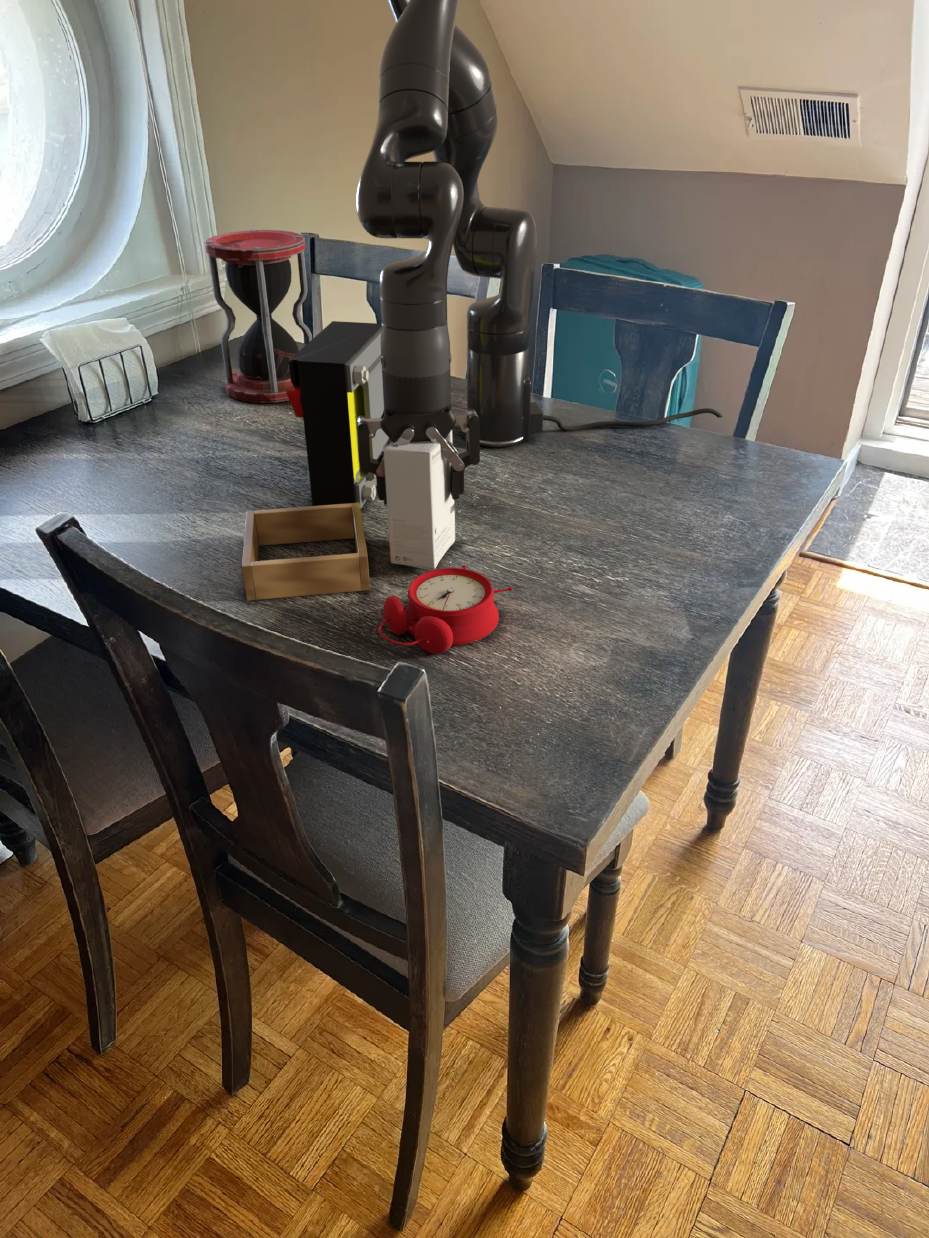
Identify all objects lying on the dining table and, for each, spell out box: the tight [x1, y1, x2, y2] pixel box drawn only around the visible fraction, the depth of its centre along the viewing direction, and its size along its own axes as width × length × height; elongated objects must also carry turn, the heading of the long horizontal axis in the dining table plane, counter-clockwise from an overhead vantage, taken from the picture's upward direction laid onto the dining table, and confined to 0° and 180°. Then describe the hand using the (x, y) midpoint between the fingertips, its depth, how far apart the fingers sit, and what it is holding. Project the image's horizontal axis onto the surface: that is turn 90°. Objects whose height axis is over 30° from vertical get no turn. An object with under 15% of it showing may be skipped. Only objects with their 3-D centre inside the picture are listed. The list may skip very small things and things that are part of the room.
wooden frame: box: [241, 503, 371, 602], centre depth 113 cm, size 14×14×4 cm
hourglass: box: [203, 229, 313, 404], centre depth 160 cm, size 16×16×25 cm
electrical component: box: [286, 320, 389, 509], centre depth 128 cm, size 18×10×20 cm, turn 168°
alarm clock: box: [377, 564, 513, 655], centre depth 101 cm, size 10×6×15 cm
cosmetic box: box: [383, 429, 456, 571], centre depth 111 cm, size 8×6×15 cm
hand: (420, 499), depth 112 cm, fingers closed on cosmetic box, 7 cm apart
